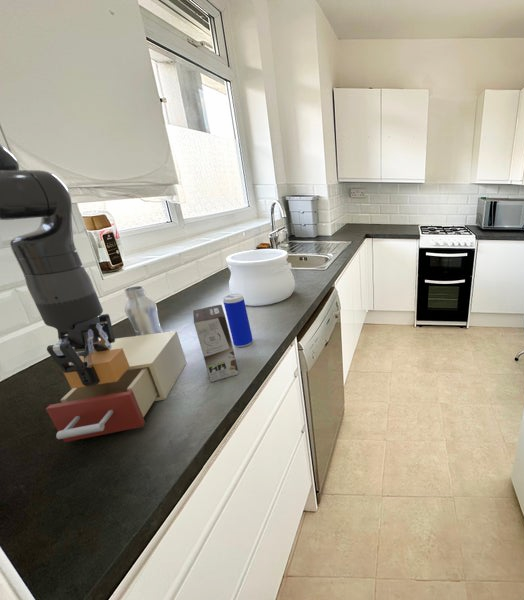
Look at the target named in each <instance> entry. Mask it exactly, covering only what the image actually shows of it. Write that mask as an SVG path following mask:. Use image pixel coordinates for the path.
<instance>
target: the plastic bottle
mask: <svg viewBox="0 0 524 600" xmlns="http://www.w3.org/2000/svg"><path fill="white" fill-rule="evenodd" d="M146 293H147V292H146V290H145V289H144V286H142V285H136V286H131V287H127V288H125V289H124V294H125V297H126V298H128V299H127V301H126V303H125V305H124V313H125V315H126V317H127V318H128V320H129V322H130V323H131V326H132V328H133V329H134V332H135V336H140V335H148V334H155V333H163V332H164V331H163V329H162V326H161V324H160V323H161V322H160V318H159V311H158V305H157V303H156V302H155V300H153V299H152V298H151V297H149V296H147V295H146Z"/></svg>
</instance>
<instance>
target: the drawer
mask: <svg viewBox="0 0 524 600" xmlns="http://www.w3.org/2000/svg"><path fill="white" fill-rule="evenodd" d="M158 394H159V393H158V390H157V387H156V385H155V382H154V379H153V377H152V374H151V371H150V368H149V367H145V368H138V369H132V370H127V371H126V372H125V373H124V374H123V375H122V376H121V377H120V379H119V380H118V381H117V382H111V383H104V384H98V385H92V386H86V387H79V388H73V389H71V388H70V390H69V391H68V392H67V393H66V394H64V396H62V398H61V399H60V402H59V403H58V402H57V403H52V404H49V405H48V406H47V407H46V408H45V410H46V413H47V414H48V416H49V418H50V419H51V421H52V424H53V425H54V427H55V429H56V431H57V432H56V434H55V435H56V439H57V440H62V441H63V443H68V442H72V441H78V440H82V439H87V438H93V437H98V436H103V435H108V434H113V433H118V432H122V431H128V430H134V429H138V428H139V429H140V428H142V427H144V426H145V424H146V421H145V417H146V414H147V413H148V412H149V410H150V408H151V406H152V405H153V403H155V401H154V400H155V398H156V397H157V395H158Z"/></svg>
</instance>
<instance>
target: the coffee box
mask: <svg viewBox="0 0 524 600" xmlns="http://www.w3.org/2000/svg"><path fill="white" fill-rule="evenodd" d="M192 314H193V324H194V327H195V332H196V335H197V338H198V341H199V345H200V348H201V349H200V350H201V352H202V356H203V360H204V363H205V366H206V370H207V373H208V376H209V381H210V382H211V383H212V382H216V381H219V380H222V379H226V378H230V377H234V376H237V375H238V374H239V370H238V364H237V360H236V355H235V349H234V346H233V340H232V336H231V332H230V328H229V324H228V320H227V317H226V315H225V314H226V313H225V311H224V308H223V305H222V304H217V305H211V306H207V307H203V308H198V309H194V310H192Z"/></svg>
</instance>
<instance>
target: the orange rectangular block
mask: <svg viewBox="0 0 524 600" xmlns="http://www.w3.org/2000/svg"><path fill="white" fill-rule="evenodd" d="M79 358H80V359H81V360H82V362H84V357H83V356H79ZM91 358H92V366H94V369H95V371H96V373H97V375H98V378H99V380H100V382H99V383H98V384H104V383H111V382H117V381H118V380H119V379H120V377H121V376H122V375H123V374H124V373H125V372H126V371H127V369H128V368H129V367H130V366H129V364H128V361H127V359H126V356H125V353H124V351H123V348H121V349H114V350H106V351H99V352H97V351H94V353H93V354H92V355H91ZM69 365H71V363H70V362H69ZM63 374H64V376H65V378H66V380H67V383H68V384H69V387H70V390H71V389H73V388H79V387H86V386H84V385H83V384H82V382H81V380H80V378H79V376H78V374H77V372H76V371H75V372H69V373H64V372H63ZM98 384H97V385H98Z"/></svg>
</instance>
